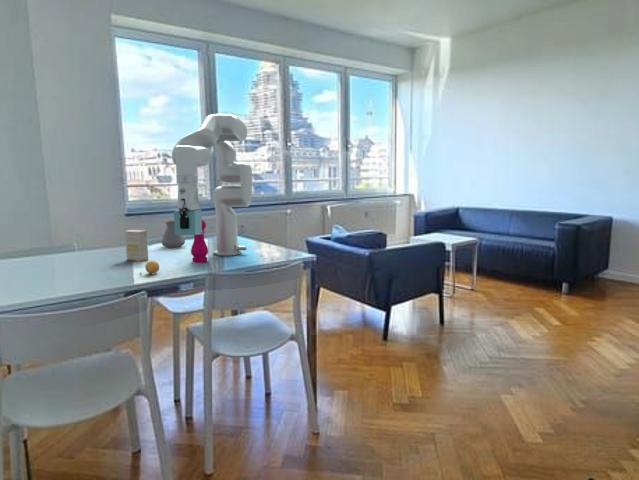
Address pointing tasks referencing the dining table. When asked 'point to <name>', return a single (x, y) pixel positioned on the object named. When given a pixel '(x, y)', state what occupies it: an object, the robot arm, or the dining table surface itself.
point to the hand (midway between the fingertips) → (188, 227)
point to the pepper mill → (199, 247)
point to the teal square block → (194, 223)
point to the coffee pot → (172, 237)
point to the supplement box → (136, 245)
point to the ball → (152, 267)
